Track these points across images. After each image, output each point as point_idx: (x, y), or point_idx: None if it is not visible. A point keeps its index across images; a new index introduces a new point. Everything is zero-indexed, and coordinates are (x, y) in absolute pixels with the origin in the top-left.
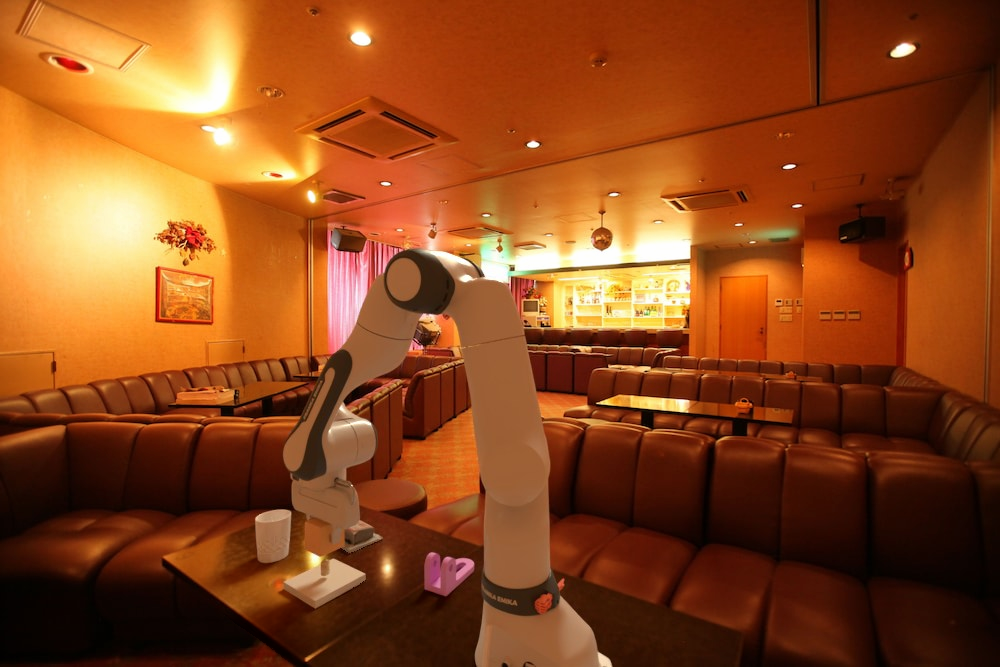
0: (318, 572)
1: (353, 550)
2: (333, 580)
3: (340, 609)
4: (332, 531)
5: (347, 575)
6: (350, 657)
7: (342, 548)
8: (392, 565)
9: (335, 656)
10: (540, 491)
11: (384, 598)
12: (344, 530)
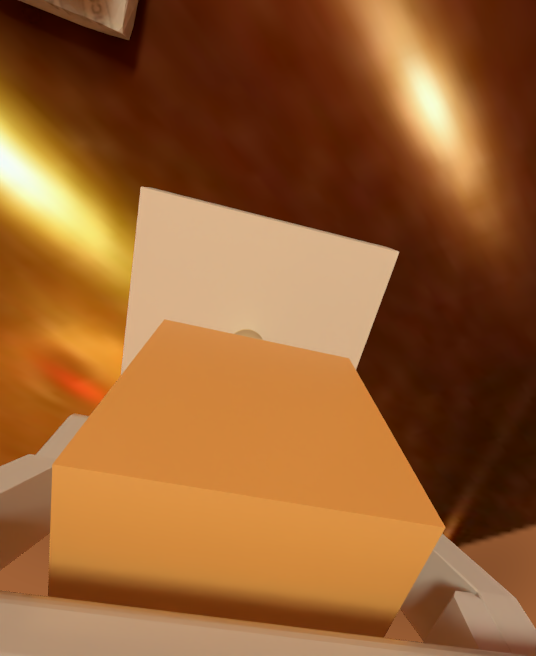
0: (184, 318)
1: (135, 7)
2: (294, 342)
3: (400, 413)
4: (409, 620)
5: (326, 292)
6: (531, 524)
7: (48, 9)
8: (445, 68)
9: (494, 532)
10: None
11: (520, 318)
12: (385, 423)
